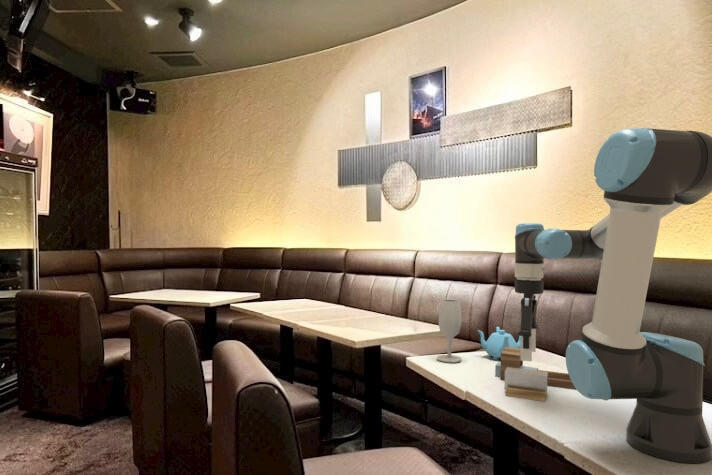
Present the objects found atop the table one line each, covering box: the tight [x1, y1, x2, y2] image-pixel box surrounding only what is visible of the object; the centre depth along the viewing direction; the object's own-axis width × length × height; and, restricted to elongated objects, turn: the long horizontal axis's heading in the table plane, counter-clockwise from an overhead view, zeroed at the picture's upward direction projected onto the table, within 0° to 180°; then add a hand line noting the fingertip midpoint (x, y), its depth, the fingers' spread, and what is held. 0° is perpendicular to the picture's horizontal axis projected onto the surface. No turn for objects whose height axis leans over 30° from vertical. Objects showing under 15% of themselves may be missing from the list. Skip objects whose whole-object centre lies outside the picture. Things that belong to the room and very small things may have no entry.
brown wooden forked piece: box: [499, 347, 578, 391], centre depth 149 cm, size 10×24×8 cm, turn 66°
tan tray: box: [505, 387, 547, 402], centre depth 137 cm, size 10×10×2 cm
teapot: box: [476, 326, 521, 361], centre depth 176 cm, size 13×13×10 cm
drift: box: [494, 362, 539, 378], centre depth 152 cm, size 12×4×4 cm, turn 61°
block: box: [504, 367, 549, 396], centre depth 137 cm, size 11×5×5 cm, turn 67°
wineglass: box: [436, 298, 462, 364], centre depth 172 cm, size 9×9×21 cm
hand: (528, 355), depth 136 cm, fingers open, 13 cm apart
